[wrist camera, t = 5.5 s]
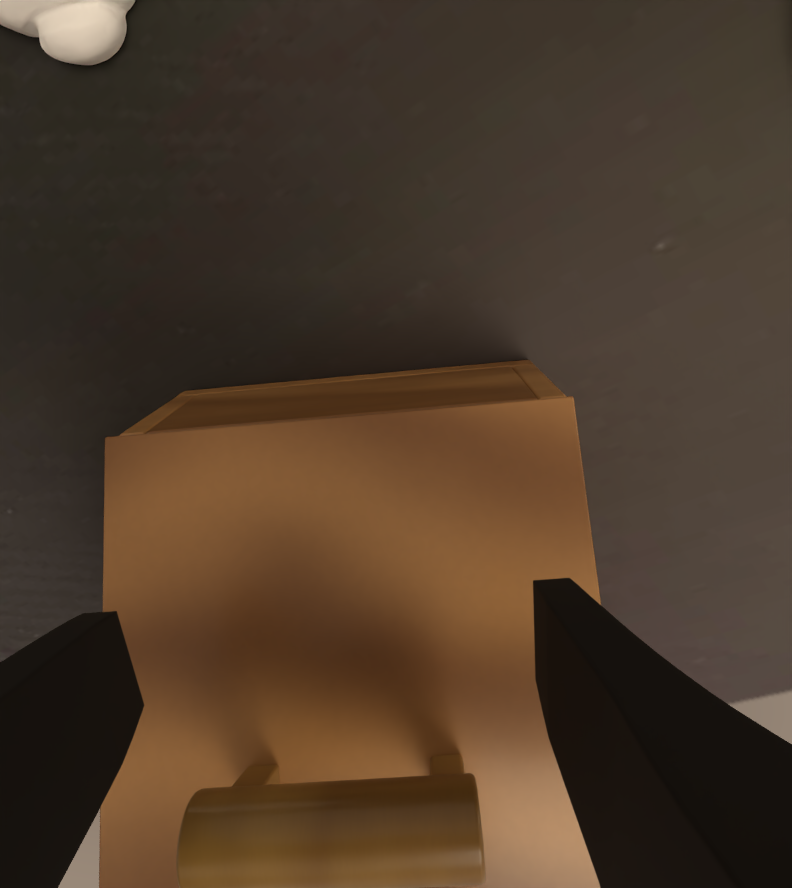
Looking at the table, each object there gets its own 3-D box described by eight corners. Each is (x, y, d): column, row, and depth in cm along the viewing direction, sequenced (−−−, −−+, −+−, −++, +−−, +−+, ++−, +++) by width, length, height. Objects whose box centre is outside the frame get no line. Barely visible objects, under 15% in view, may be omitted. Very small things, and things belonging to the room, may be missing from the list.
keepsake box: (536, 641, 22) (568, 740, 18) (242, 661, 23) (203, 762, 19) (530, 359, 19) (567, 395, 15) (183, 390, 20) (117, 434, 15)
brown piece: (637, 929, 12) (730, 1106, 9) (112, 952, 13) (-28, 1127, 9) (567, 401, 14) (618, 347, 11) (117, 441, 15) (4, 403, 11)
